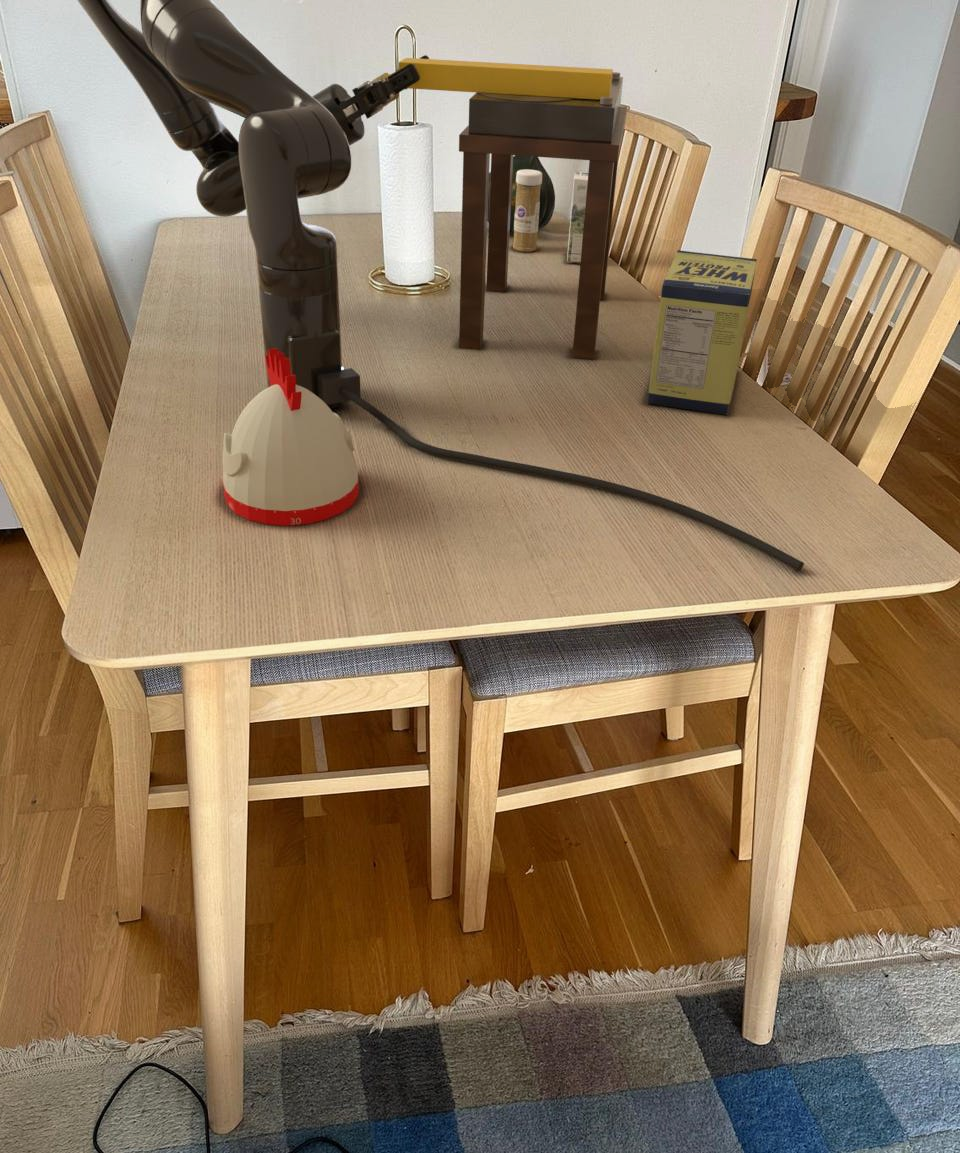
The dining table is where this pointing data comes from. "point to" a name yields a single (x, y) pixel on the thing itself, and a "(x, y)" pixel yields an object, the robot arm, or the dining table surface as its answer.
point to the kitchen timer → (288, 455)
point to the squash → (545, 190)
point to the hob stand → (504, 133)
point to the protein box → (700, 331)
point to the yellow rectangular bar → (511, 78)
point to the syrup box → (577, 217)
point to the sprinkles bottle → (527, 210)
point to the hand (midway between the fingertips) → (423, 66)
